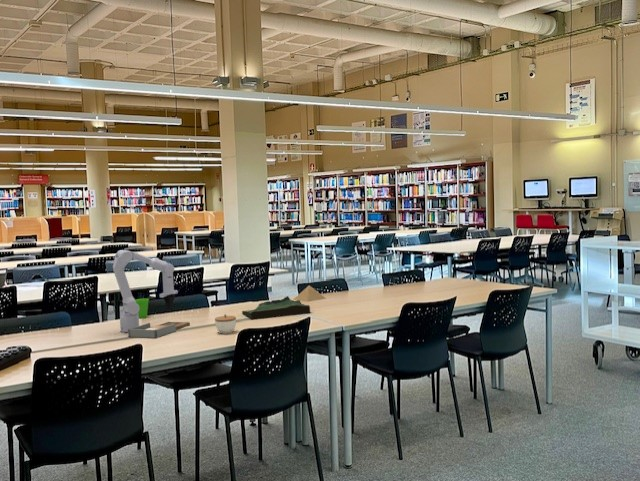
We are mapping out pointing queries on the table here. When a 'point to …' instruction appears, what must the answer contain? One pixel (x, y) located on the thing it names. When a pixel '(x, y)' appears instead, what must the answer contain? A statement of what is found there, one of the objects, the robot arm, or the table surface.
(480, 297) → the table surface
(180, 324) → the walnut board
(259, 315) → the topographic model
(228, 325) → the lidded jar
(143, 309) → the cup
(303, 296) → the model pyramid
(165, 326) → the terracotta tile
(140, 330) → the grey box
